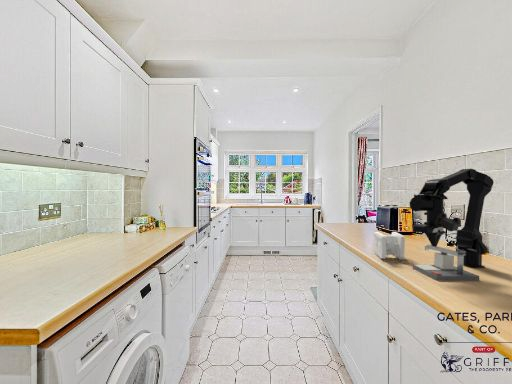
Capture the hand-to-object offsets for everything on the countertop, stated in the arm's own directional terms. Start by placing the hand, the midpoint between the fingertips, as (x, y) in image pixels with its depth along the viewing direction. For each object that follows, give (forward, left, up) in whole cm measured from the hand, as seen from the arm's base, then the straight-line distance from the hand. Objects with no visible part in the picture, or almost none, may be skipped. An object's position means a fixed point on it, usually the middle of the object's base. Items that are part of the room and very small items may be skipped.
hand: (434, 247), depth 107 cm
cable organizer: (+10, -18, -9) cm, 22 cm away
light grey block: (-1, +4, -7) cm, 8 cm away
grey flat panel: (+1, +6, -9) cm, 11 cm away
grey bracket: (0, +5, -7) cm, 9 cm away
